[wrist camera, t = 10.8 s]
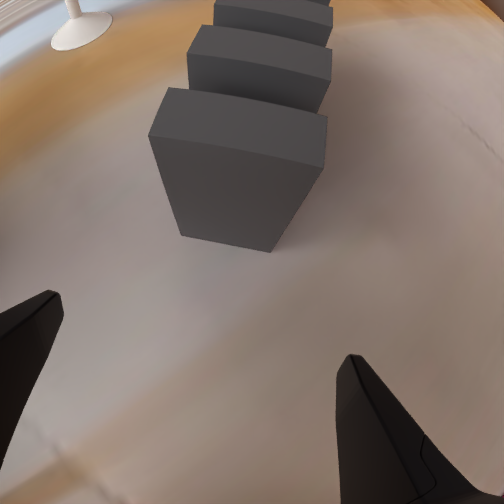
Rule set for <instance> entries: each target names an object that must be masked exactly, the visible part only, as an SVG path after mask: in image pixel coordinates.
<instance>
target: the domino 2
mask: <svg viewBox="0 0 504 504" xmlns="http://www.w3.org/2000/svg"><path fill="white" fill-rule="evenodd" d="M187 66H188V80H189V90H196V91H204V92H211V93H218V94H224V95H230V96H236V97H242V98H247V99H253V100H258V101H263V102H268V103H273V104H277V105H282V106H286V107H291V108H295V109H299V110H303V111H307V112H311V113H315V114H316V113H317V111H318V109H319V107H320V104H321V102H322V100H323V98H324V95H325V93H326V91H327V89H328V86H329V84H330V82H331V68H332V49H328V48H325V47H321V46H318V45H314V44H310V43H306V42H302V41H298V40H294V39H290V38H285V37H280V36H276V35H271V34H266V33H260V32H255V31H249V30H242V29H236V28H229V27H221V26H212V25H203V24H202V26H201V28H200V29H199V31H198V33H197V35H196V37H195V38H194V40H193V42H192V44H191V46H190V48H189V50H188V52H187Z"/></svg>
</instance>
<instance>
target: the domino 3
mask: <svg viewBox="0 0 504 504" xmlns="http://www.w3.org/2000/svg"><path fill="white" fill-rule="evenodd" d="M326 132H327V117H326V116H323V115H319V114H315V113H311V112H307V111H303V110H299V109H295V108H291V107H286V106H282V105H277V104H273V103H268V102H263V101H258V100H253V99H247V98H242V97H236V96H230V95H224V94H218V93H211V92H204V91H196V90H188V89H180V88H170V87H168V90H167V92H166V94H165V96H164V98H163V101H162V103H161V105H160V108H159V110H158V112H157V115H156V117H155V119H154V122H153V124H152V127H151V129H150V132H149V134H148V137H149V140H150V143H151V147H152V150H153V153H154V156H155V159H156V162H157V166H158V169H159V172H160V175H161V178H162V181H163V184H164V187H165V190H166V193H167V196H168V199H169V202H170V205H171V208H172V211H173V214H174V216H175V219H176V222H177V225H178V228H179V231H180V233H181V235H182V236H187V237H192V238H197V239H202V240H207V241H212V242H217V243H222V244H228V245H233V246H238V247H243V248H248V249H253V250H258V251H263V252H268V253H270V252H271V251H272V249H273V248H274V246H275V244H276V243H277V241H278V240H279V238H280V237H281V235H282V233H283V232H284V230H285V229H286V227H287V226H288V224H289V222H290V221H291V219H292V218H293V216H294V215H295V213H296V211H297V210H298V208H299V207H300V205H301V204H302V202H303V200H304V199H305V197H306V196H307V194H308V192H309V191H310V189H311V188H312V186H313V184H314V183H315V181H316V180H317V178H318V177H319V175H320V173H321V172H322V170H323V169H324V159H325V146H326Z"/></svg>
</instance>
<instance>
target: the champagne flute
mask: <svg viewBox="0 0 504 504" xmlns="http://www.w3.org/2000/svg"><path fill="white" fill-rule="evenodd" d="M65 2H66V6H67V9H68V11H69V14H70V17H71V18H70V19H69V20H68V21H67V22H66V23H65V24H64V25H63V26H62V27H61V28H60V29H59V30H58V31H57V32H56V33H55V35H54V36H53V38H52V41H51V46H52V47H53V48H54V49H55V50H61V51H64V50H71V49H75V48H78V47H81V46H83V45H85V44H87V43H89V42H91V41H93V40H95V39H96V38H98V37H99V36H101V35H102V34H103V33H104V32H105V31H106V30H107V29H108V28H109V27H110V25H111V23H112V16H111V15H110V14H108V13H106V12H87V13H82V12H81V9H80V5H79V2H78V0H65Z"/></svg>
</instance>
